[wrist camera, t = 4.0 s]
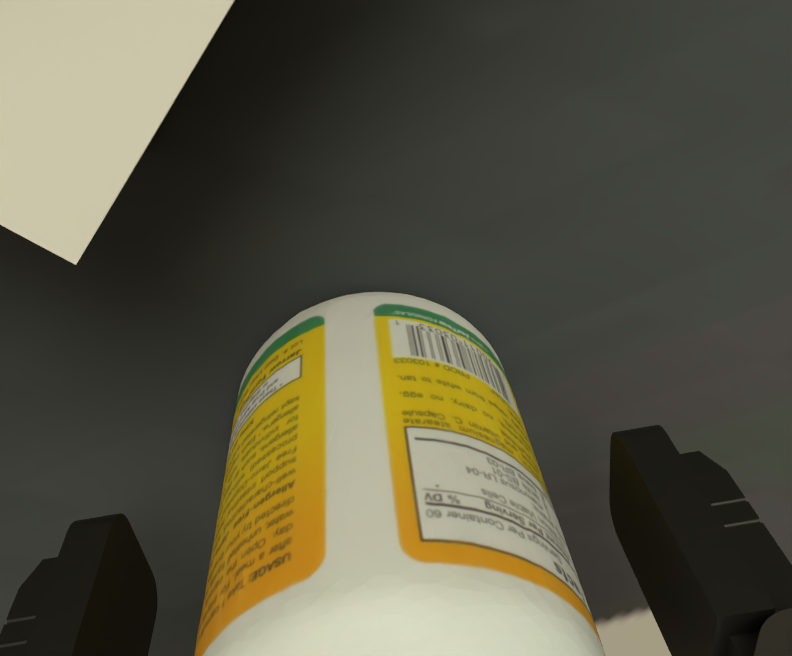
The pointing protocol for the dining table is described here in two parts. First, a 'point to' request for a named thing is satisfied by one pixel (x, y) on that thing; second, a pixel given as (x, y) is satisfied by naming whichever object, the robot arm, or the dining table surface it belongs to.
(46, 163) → the scale base
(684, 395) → the dining table surface
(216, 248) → the dining table surface
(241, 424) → the supplement bottle
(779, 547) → the robot arm
